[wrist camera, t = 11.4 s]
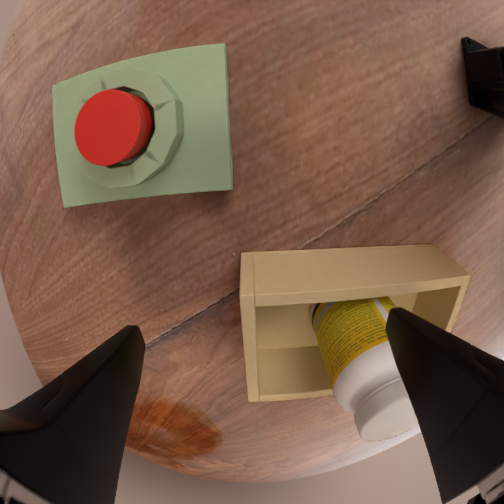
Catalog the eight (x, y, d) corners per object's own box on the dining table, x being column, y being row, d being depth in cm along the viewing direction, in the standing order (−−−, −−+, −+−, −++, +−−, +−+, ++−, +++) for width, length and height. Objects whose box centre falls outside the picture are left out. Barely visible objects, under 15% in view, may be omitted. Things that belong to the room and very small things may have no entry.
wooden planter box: (432, 243, 20) (471, 274, 15) (407, 334, 23) (431, 373, 18) (241, 252, 20) (239, 295, 15) (247, 352, 23) (248, 402, 18)
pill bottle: (303, 336, 22) (330, 455, 12) (316, 270, 20) (369, 394, 10) (370, 334, 22) (418, 435, 12) (390, 272, 20) (468, 371, 10)
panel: (227, 50, 14) (222, 32, 11) (233, 185, 18) (230, 197, 14) (65, 87, 14) (36, 83, 11) (75, 201, 18) (49, 216, 14)
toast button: (150, 86, 12) (138, 81, 11) (154, 156, 14) (143, 159, 12) (88, 101, 12) (72, 100, 11) (93, 166, 14) (77, 171, 12)
